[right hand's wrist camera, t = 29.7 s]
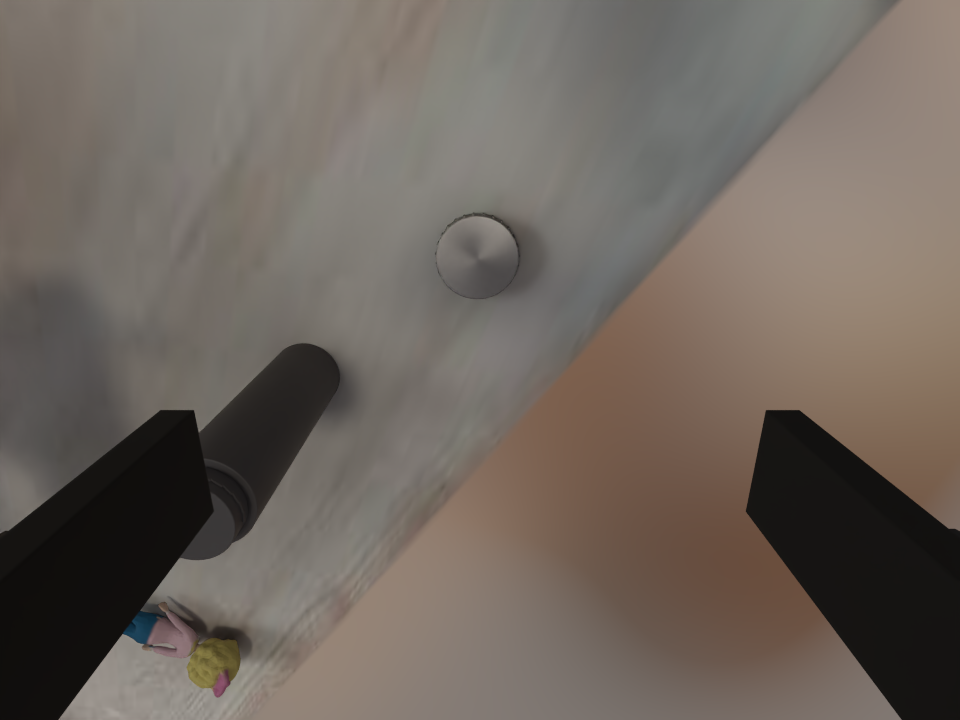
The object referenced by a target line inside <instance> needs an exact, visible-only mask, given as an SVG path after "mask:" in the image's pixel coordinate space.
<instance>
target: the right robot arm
mask: <svg viewBox="0 0 960 720" xmlns="http://www.w3.org/2000/svg"><path fill="white" fill-rule="evenodd" d="M213 512H214V508H213V503H212V498H211V493H210V488H209V483H208V478H207V473H206V468H205V463H204V458H203V453H202V448H201V443H200V438H199V433H198V428H197V423H196V418H195V413H194V410H160V411H159V412H158V413H157V414H155V415H154V416H153V417H152V418H150V419H149V420H148V421H146V422H145V423H144V424H143V425H141V426H140V427H139V428H138V429H136V430H135V431H134V432H133V433H131V434H130V435H129V436H128V437H126V438H125V439H124V440H123V441H121V442H120V443H119V444H118V445H116V446H115V447H114V448H113V449H111V450H110V451H109V452H107V453H106V454H105V455H104V456H102V457H101V458H100V459H99V460H97V461H96V462H95V463H94V464H92V465H91V466H90V467H89V468H87V469H86V470H85V471H84V472H82V473H81V474H80V475H79V476H77V477H76V478H75V479H74V480H72V481H71V482H70V483H68V484H67V485H66V486H65V487H63V488H62V489H61V490H60V491H58V492H57V493H56V494H55V495H53V496H52V497H51V498H50V499H48V500H47V501H46V502H45V503H43V504H42V505H41V506H40V507H38V508H37V509H36V510H35V511H33V512H32V513H31V514H29V515H28V516H27V517H26V518H24V519H23V520H22V521H21V522H19V523H18V524H17V525H16V526H14V527H13V528H12V529H11V530H9V531H4V532H2V533H0V720H58V719H59V718H60V717H61V715H62V714H63V713H64V711H65V710H66V709H67V707H68V706H69V705H70V703H71V702H72V701H73V699H74V698H75V697H76V695H77V694H78V693H79V691H80V690H81V689H82V687H83V686H84V685H85V683H86V682H87V681H88V679H89V678H90V677H91V675H92V674H93V673H94V671H95V670H96V669H97V667H98V666H99V665H100V663H101V662H102V661H103V659H104V658H105V657H106V655H107V654H108V653H109V651H110V650H111V649H112V647H113V646H114V645H115V643H116V642H117V641H118V639H119V638H120V637H121V635H122V634H123V633H124V631H125V630H126V629H127V627H128V626H129V625H130V623H131V622H132V621H133V619H134V618H135V616H136V615H137V614H138V612H139V611H140V610H141V608H142V607H143V606H144V604H145V603H146V602H147V600H148V599H149V598H150V596H151V595H152V594H153V592H154V591H155V590H156V588H157V587H158V586H159V584H160V583H161V582H162V580H163V579H164V578H165V576H166V575H167V574H168V572H169V571H170V570H171V568H172V567H173V566H174V564H175V563H176V562H177V560H178V559H179V558H180V556H181V555H182V554H183V552H184V551H185V550H186V548H187V547H188V546H189V544H190V543H191V542H192V540H193V539H194V538H195V536H196V535H197V534H198V532H199V531H200V530H201V528H202V527H203V526H204V524H205V523H206V522H207V520H208V519H209V518H210V516H211V515H212V514H213ZM746 512H747V514H748V515H749V516H750V518H751V519H752V520H753V522H754V523H755V524H756V526H757V527H758V528H759V530H760V531H761V532H762V534H763V535H764V536H765V538H766V539H767V540H768V542H769V543H770V544H771V546H772V547H773V548H774V550H775V551H776V552H777V554H778V555H779V556H780V558H781V559H782V560H783V562H784V563H785V564H786V566H787V567H788V568H789V570H790V571H791V572H792V574H793V575H794V576H795V578H796V579H797V580H798V582H799V583H800V584H801V586H802V587H803V588H804V590H805V591H806V592H807V594H808V595H809V596H810V598H811V599H812V600H813V602H814V603H815V604H816V606H817V607H818V608H819V610H820V611H821V612H822V614H823V615H824V616H825V618H826V619H827V621H828V622H829V623H830V624H831V626H832V627H833V628H834V630H835V631H836V633H837V634H838V635H839V637H840V638H841V639H842V641H843V642H844V643H845V645H846V646H847V647H848V649H849V650H850V651H851V653H852V654H853V655H854V657H855V658H856V659H857V661H858V662H859V663H860V664H861V666H862V667H863V669H864V670H865V671H866V673H867V674H868V675H869V677H870V678H871V679H872V681H873V682H874V683H875V685H876V686H877V687H878V689H879V690H880V691H881V693H882V694H883V695H884V696H885V698H886V699H887V701H888V702H889V703H890V705H891V706H892V707H893V709H894V710H895V711H896V713H897V714H898V715H899V717H900V718H901V719H902V720H960V531H958V530H956V529H948V528H947V527H946V526H944V525H943V524H942V523H941V522H939V521H938V520H937V519H936V518H934V517H933V516H932V515H931V514H929V513H928V512H927V511H925V510H924V509H923V508H922V507H920V506H919V505H918V504H917V503H915V502H914V501H913V500H912V499H910V498H909V497H908V496H907V495H905V494H904V493H903V492H902V491H900V490H899V489H898V488H897V487H895V486H894V485H893V484H892V483H890V482H889V481H888V480H886V479H885V478H884V477H883V476H881V475H880V474H879V473H878V472H876V471H875V470H874V469H873V468H871V467H870V466H869V465H868V464H866V463H865V462H864V461H863V460H861V459H860V458H859V457H858V456H856V455H855V454H854V453H853V452H851V451H850V450H849V449H847V448H846V447H845V446H844V445H842V444H841V443H840V442H839V441H837V440H836V439H835V438H834V437H832V436H831V435H830V434H829V433H827V432H826V431H825V430H824V429H822V428H821V427H820V426H819V425H817V424H816V423H815V422H814V421H812V420H811V419H810V418H808V417H807V416H806V415H805V414H803V413H802V412H801V411H800V410H766V413H765V418H764V423H763V428H762V433H761V438H760V443H759V448H758V453H757V458H756V463H755V468H754V473H753V478H752V483H751V488H750V493H749V498H748V503H747V508H746Z"/></svg>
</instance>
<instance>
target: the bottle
mask: <svg viewBox="0 0 960 720" xmlns="http://www.w3.org/2000/svg"><path fill="white" fill-rule="evenodd" d="M339 380H340V375H339V370H338V367H337V365H336V363H335V361H334V359H333V358H332V357H331V356H330V355H329V354H328V353H327V352H326V351H324V350H323V349H321V348H319V347H317V346H314V345H310V344H296V345H292V346H289V347H288V348H286V349H284V350H283V351H282V352H281V353H280V354H279V355H278V356H277V357H276V358H275V359H274V360H273V361H272V362H271V363H270V364H269V365H268V366H267V367H266V368H265V369H264V370H263V371H262V372H261V373H259V374H258V375H257V376H256V377H255V378H254V379H253V380H252V381H251V382H250V383H249V384H248V385H247V386H246V387H245V388H244V389H243V390H242V391H241V392H240V393H239V394H238V395H237V396H236V397H235V398H234V399H233V400H232V401H231V402H230V403H229V404H228V405H227V406H226V407H225V408H224V409H223V410H222V411H221V412H220V413H219V414H218V415H217V416H216V417H215V418H214V419H213V420H212V421H211V422H210V423H209V424H208V425H207V426H206V427H205V428H204V429H203V430H202V431H201V432H200V433H199V438H200V443H201V448H202V453H203V458H204V463H205V468H206V473H207V478H208V483H209V488H210V493H211V498H212V503H213V508H214V512H213V514H212V515H211V516H210V518H209V519H208V520H207V522H206V523H205V524H204V526H203V527H202V528H201V530H200V531H199V532H198V534H197V535H196V536H195V538H194V539H193V540H192V542H191V543H190V544H189V546H188V547H187V548H186V550H185V551H184V552H183V554H182V555H181V556H180V558H184V559H190V560H205V559H210V558H213V557H216V556H218V555H220V554H221V553H223V552H224V551H225V550H227V549H228V548H229V546H230V545H231V544H232V543H233V542H235V541H237V540H239V539H241V538H242V537H244V536H245V535H246V534H247V533H248V532H249V531H250V530H251V529H252V527H253V526H254V524H255V522H256V521H257V519H258V517H259V516H260V514H261V513H262V511H263V509H264V508H265V506H266V504H267V503H268V501H269V500H270V498H271V496H272V495H273V493H274V491H275V490H276V488H277V486H278V485H279V483H280V482H281V480H282V478H283V477H284V475H285V473H286V472H287V470H288V469H289V467H290V465H291V464H292V462H293V460H294V459H295V457H296V456H297V454H298V452H299V451H300V449H301V447H302V446H303V444H304V442H305V441H306V439H307V438H308V436H309V434H310V433H311V431H312V429H313V428H314V426H315V425H316V423H317V421H318V420H319V418H320V416H321V415H322V413H323V411H324V410H325V408H326V407H327V405H328V403H329V402H330V400H331V398H332V397H333V395H334V394H335V392H336V390H337V388H338V385H339Z"/></svg>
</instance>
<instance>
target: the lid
mask: <svg viewBox="0 0 960 720" xmlns="http://www.w3.org/2000/svg"><path fill="white" fill-rule="evenodd" d="M514 238H515V236H514V234H513V235H512V233H511V231H510V229H509V227H507V226H506V225H505V224H504V223H503V222H502V220H498V219H497V218H495V217H494V216H493V215H492V216H490V215H486V214H484V213H483V214H475V213H473V214H469V215H463V217H460V218H458V219H455V220H454V222H452V223H451V224H450V225H447V228H446V230H445V231H444V233H443V232H442V234H441V238H440V241H438V243H437V245H438V246H437V250H436V253H435V255H436V264H437V269H438V273H439V274H440V276H441V278H442V280H443V281H444V283H445V284H446V285H447V286H448V287H449V288H450V289H451V290H452V291H454V292H455V293H457V294H459V295H461V296H463V297H467V298H472V299H483V298H488V297H491V296H494V295H496V294H498V293H500V292H501V291H502V290H504V289H505V288H506V287H507V286H508V285H509V284H510V282H511V281H512V279H513V278H514V276H515V273H516V271H517V268H518V266H519V265H518V262H519V253H518V248H517V247H518V244H517V243H516V241H515V239H514Z"/></svg>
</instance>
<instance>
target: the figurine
mask: <svg viewBox="0 0 960 720" xmlns="http://www.w3.org/2000/svg"><path fill="white" fill-rule="evenodd" d="M159 608H160V609H161V610H162V611H164V612H165V613H166V614H167V616H168V618H169V619H170V620H168V619H167V618H165V617H163V616H160V615H157V614H153V613H147V612H143V611H139V612H138V614H137V615H136V616H135V618H134V619H133V621H132V622H131V623H130V625H129V626H128V627H127V629H126V630H125V631H124V633H123V634H124V635H127V636H129V637H131V638H133V639H134V640H135V641H136V642H138V643H141V644H144V645H143V646H142V649H143V650H147V651H149V650H153V651H155V652H156V653H159V654H162V655H165V656H170V657H178V658H185V657H188V656H190V655H191V654H192V653H193V652H194V651H195V653H194V654H193V655H192V656H191V658H190V662H189V664H188V666H187V670H188V673H189V679H190V680H191V681H192V682H193V683H195V684H196V685H197V686H199V687H201V688H211V689H212V690H213V692H214V695H215V696H216V697H220V696H221V695H222V694H223V693H224V691H225V689H226V687H228V686H229V685H230V681H232V680H233V679H234V677H235V676H236V674H237V672H238V670H239V666H240V654H239V648H238V645H237V641H236V640H230V639H226V640H220V639H218V638H210V639H207V640H205V641H204V642H203V643H202V644H198V641H199V635H197V634H196V633H195V631H194V630H193V629H192V628H190V627H189V626H188V625H186V624H185V623H184V622H183V621H182V620H181V619H180V618H179V617H178V616H177V615H176V614H174V613H173V612H170V611H169V609H168V606H167V604H166V603H165V602H164V603H163V602H162V603H160V604H159ZM159 643H169V644H171V645H173V646H174V647H175V648H176V649H172V648H168V647H163V646H153V645H152V644H159Z"/></svg>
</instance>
